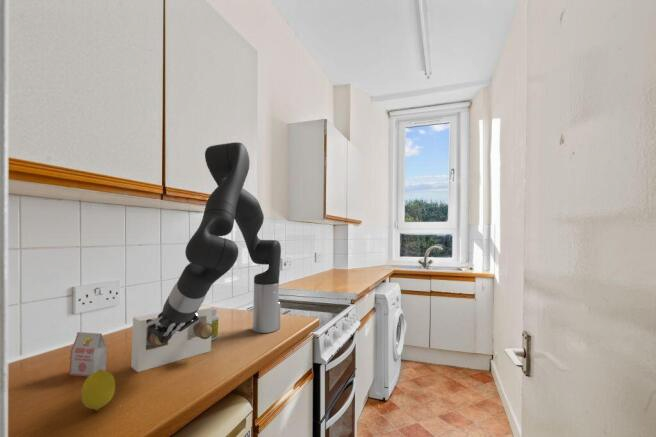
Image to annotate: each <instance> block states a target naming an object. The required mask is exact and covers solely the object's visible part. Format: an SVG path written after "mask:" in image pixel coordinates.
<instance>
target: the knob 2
mask: <svg viewBox="0 0 656 437" xmlns="http://www.w3.org/2000/svg"><path fill="white" fill-rule="evenodd" d="M193 330H194V334H195V335H196V336H197V337H199V338H201V339H208V338H209V337H210V336H211V335H212V333H213V330H214V328H213V326H212V324H210V323H207V322H205V321H200V322H198V323H196V324H194V326H193Z"/></svg>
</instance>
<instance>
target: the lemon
mask: <svg viewBox="0 0 656 437" xmlns="http://www.w3.org/2000/svg"><path fill="white" fill-rule="evenodd" d="M115 392H116V380H115V377H114V375H113V374H112V373H111V372H110V371H108V370H106V371H104V370H102V369H99V370H97V372H94V373H93V374H91V375H90V376H89V377H87V378H86V379H85V381H84V383H83V385H82V388H81V396H80V397H81V401H82V405H84V407H85V408H87V409H91V410H95V411H97V412H98V411H100V410H101V408H103V407H104V406H106V405H107V404H109V402H111V400H112V399H113V397H114V394H115Z"/></svg>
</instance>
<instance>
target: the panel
mask: <svg viewBox="0 0 656 437" xmlns="http://www.w3.org/2000/svg"><path fill="white" fill-rule="evenodd" d="M212 308H213V307H212V306H209V305H205V304H203V305H202V304H201V306H200V307H199V309H198V311H197V314H198V316H199V320H198V321H196V322H195V323H193V324H192V325H190V326H189V327H187V328H186V329H184V330H183V331H181V332H179V331H176V333H175V334H173V335H172V337H171V339H169V340H168V342H167V343H166V344H165V345H163V346H161V347H156V346H154V345H152V344H151V343H149V341H148V333H149V330H148V327H147V323H146V320H148V319H152V320H155V319H157V318H158V315H159V314H160V313H161V312H162V311H161V312H155V313H150V314H144V315H143V314H142V315H138V316H133V317H132V337H131V358H130V363H131V364H130V367H131V368H132V369H133V370H134V371H135V372H137V373H140V372H143V371H147V370H151V369H153V368H157V367H161V366H165V365H167V364H171V363H175V362H179V361H182V360H184V359H188V358H191V357H194V356H198V355H201V354H205V353H208V352H211V351H212V340H211V336H210V337H209V338H208V339H201V338H199V337H197V336H196V335H195V334H194V330H193V326H194V324H196V323H198V322H200V321H205V322H207V323H210V324H212ZM158 325H159V326H160V327H161V326H162V325H161V324H160V323H159V324H158ZM183 325H185V324H183ZM183 325H182V326H183Z"/></svg>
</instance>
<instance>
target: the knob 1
mask: <svg viewBox="0 0 656 437" xmlns="http://www.w3.org/2000/svg"><path fill="white" fill-rule="evenodd" d="M148 341H149V343H151V344H152V345H154V346H156V347H161V346H163V345H165V344H166V343H167V342H165V343H161V342H159V339H158V337H157V336H156V335H154V334H153V333H152V332H150V331H149V333H148Z"/></svg>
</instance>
